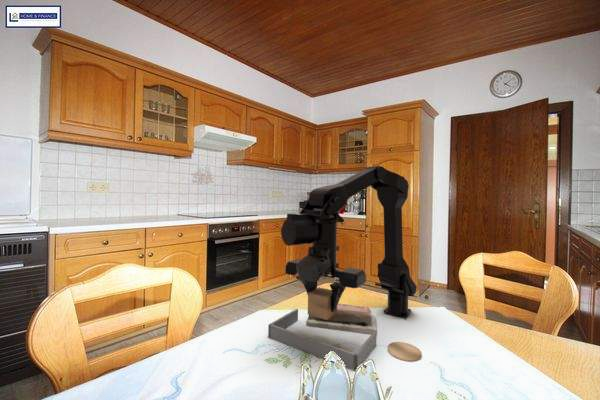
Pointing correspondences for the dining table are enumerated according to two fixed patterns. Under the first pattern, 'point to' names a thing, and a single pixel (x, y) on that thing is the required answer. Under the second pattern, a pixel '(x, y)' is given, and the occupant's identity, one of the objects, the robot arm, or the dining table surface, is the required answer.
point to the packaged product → (347, 320)
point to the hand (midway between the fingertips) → (322, 308)
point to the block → (320, 303)
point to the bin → (317, 342)
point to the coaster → (404, 351)
